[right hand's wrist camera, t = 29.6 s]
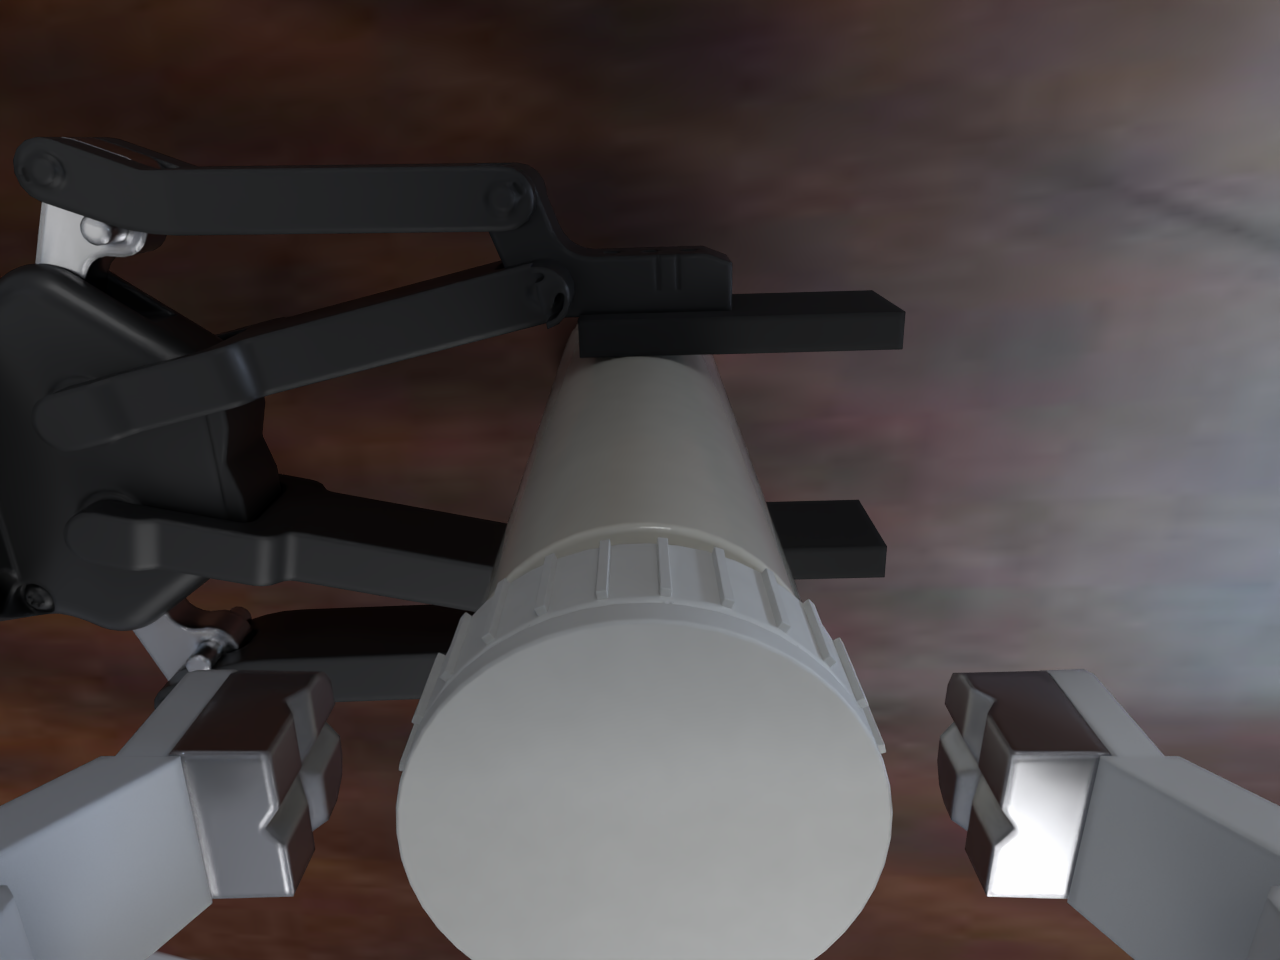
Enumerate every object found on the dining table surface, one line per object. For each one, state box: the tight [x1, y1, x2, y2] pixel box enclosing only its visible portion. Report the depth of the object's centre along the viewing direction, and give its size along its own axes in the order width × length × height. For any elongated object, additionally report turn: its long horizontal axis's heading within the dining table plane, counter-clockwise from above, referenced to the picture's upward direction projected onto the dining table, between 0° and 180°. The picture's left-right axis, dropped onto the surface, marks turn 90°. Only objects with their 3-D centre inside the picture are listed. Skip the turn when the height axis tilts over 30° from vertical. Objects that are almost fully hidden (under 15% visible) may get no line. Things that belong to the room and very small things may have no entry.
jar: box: [480, 324, 802, 607], centre depth 18 cm, size 4×4×17 cm
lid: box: [396, 537, 893, 960], centre depth 9 cm, size 5×5×2 cm
